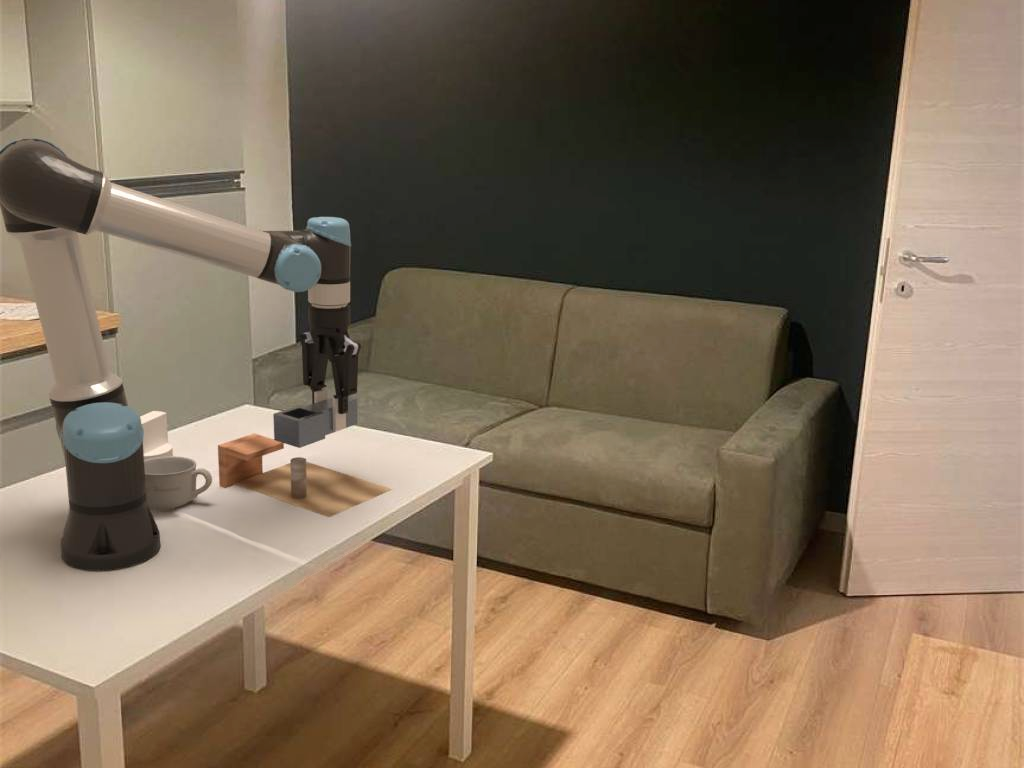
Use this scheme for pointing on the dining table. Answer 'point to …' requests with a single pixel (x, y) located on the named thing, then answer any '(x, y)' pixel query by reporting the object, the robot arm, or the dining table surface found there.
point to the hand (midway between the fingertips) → (330, 426)
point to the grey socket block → (309, 422)
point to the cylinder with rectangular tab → (155, 435)
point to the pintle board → (318, 488)
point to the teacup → (172, 482)
